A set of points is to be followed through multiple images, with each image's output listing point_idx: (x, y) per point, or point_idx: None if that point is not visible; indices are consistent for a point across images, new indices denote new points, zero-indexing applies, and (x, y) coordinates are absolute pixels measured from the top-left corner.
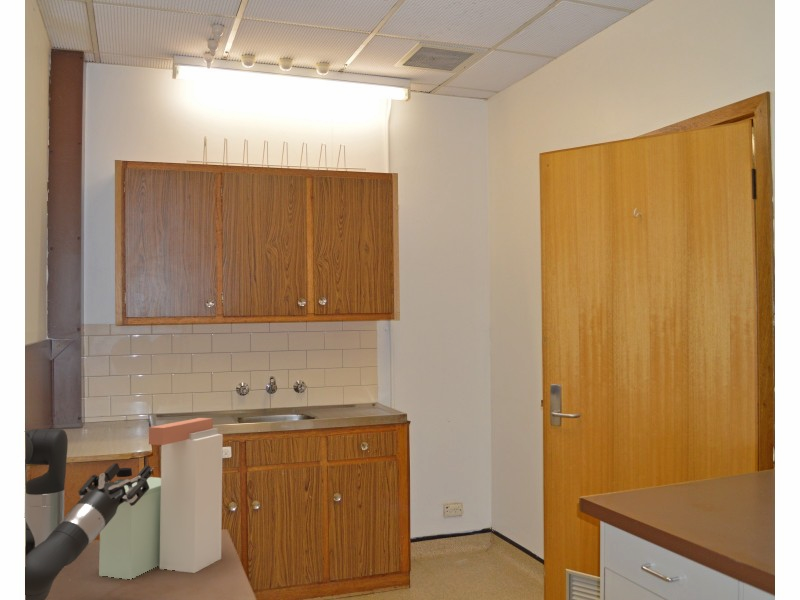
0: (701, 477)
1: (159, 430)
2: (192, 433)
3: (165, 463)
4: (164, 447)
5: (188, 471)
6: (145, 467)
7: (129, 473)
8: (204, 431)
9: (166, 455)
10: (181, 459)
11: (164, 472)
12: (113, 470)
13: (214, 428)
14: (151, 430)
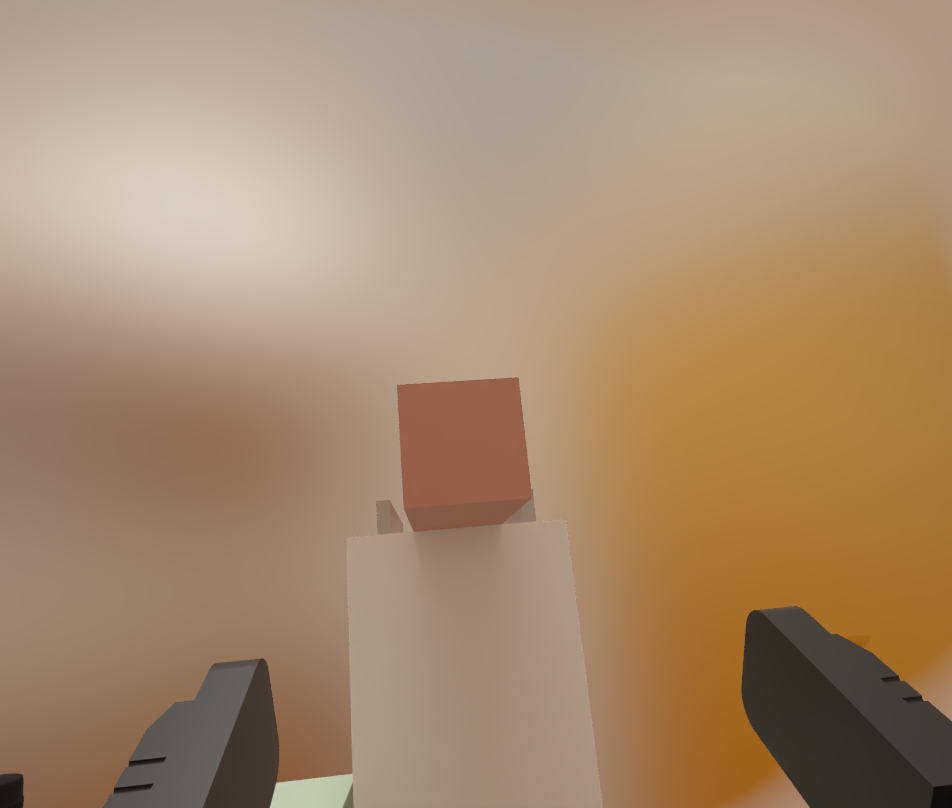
0: (864, 640)
1: (488, 397)
2: None
3: (379, 682)
4: (367, 585)
5: (541, 705)
6: (812, 631)
7: (14, 799)
8: None
9: (384, 631)
10: (486, 639)
11: (377, 741)
12: (239, 785)
13: None
14: (420, 404)
